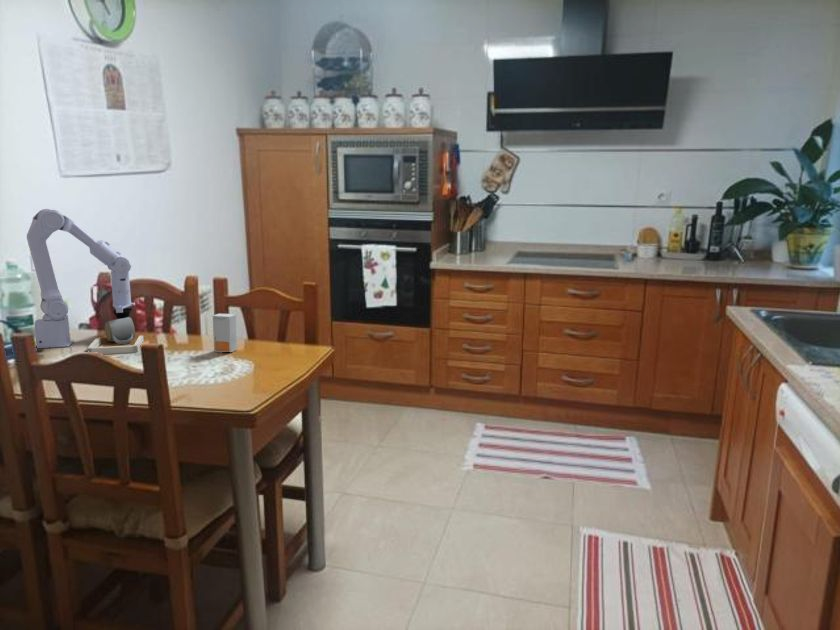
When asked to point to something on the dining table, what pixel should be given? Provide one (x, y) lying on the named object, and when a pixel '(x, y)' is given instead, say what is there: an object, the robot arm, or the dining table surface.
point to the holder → (115, 347)
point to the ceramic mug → (120, 330)
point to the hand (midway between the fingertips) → (124, 329)
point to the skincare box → (224, 332)
